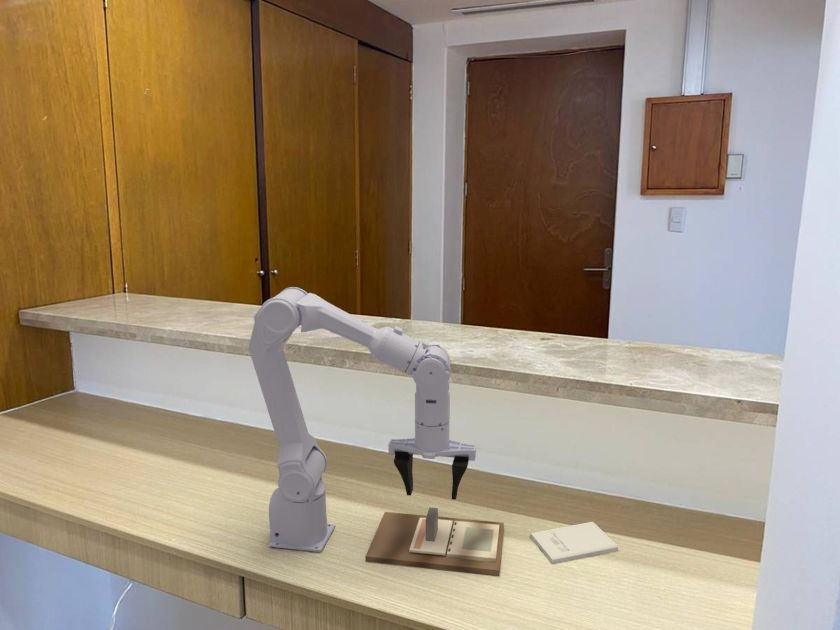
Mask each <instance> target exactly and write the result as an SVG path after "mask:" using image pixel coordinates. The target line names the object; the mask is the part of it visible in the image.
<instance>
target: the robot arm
mask: <svg viewBox="0 0 840 630" xmlns="http://www.w3.org/2000/svg"><path fill="white" fill-rule="evenodd" d="M253 321H254V323H253V328H252V331H251V336H250V339H249V343H248V351H249V355H250V357H251V360H252V364H253V367H254V370H255V374H256V376H257V380H258V383H259V386H260V389H261V392H262V396H263V400H264V402H265V406H266V409H267V413H268V415H269V419H270V422H271V425H272V427H273V431H274V435H275V437H276V440H277V443H278V454H277V455H278V456H277V464H276V465H277V468H278V474H279V475H278V476H279V477H278V479H277V488H275V489H274V490H273V492H272V494H271V495H270V496H271V497H270V498H269V499H270V500H269V505H268V521H269V522H268V523H269V534H270V535H269V536H270V537H269V538H270V541H269V543H268V547H270V548H277V549H278V548H279V549H289V550H298V551H299V550H300V551H308V552H315V553H316V552H317V553H319V552H322V551H324V550H323V549H324V547H326V545H327V542H328V541H329V539H330V537H331V535H332V533H333V531H334V529H335V528H336V525H335V524H334V523H328V518H327V517H328V516H327V496H326V495H327V494H326V484H325V483H324V481H323V478H322V477H323V475H324V473H325V472H326V469H327V467H328V458H327V456H326V454H325V452H324V450H322V449H321V448H320V446H319V445H318V443H317V440H316V437H315V436H313V435H312V434H310V433H309V430H308V427H307V422H306V420H305V417H304V414H303V411H302V407H301V403H300V401H299V397H298V393H297V390H296V387H295V384H294V381H293V377H292V374H291V371H290V367H289V364H288V360H287V357H286V354H285V350H284V347H285V346H286V344H287V343H288V341H289V340H290V338H291V336H292V335H293V333H294V332H295V331H296V330H297V328H299V327H300V326H301V328H300V332H301V333H307V332H311V331H315V330H316V331H317V330H321V329H323V330H325V331H329V333H333V334H335V335H337V336H340V337H342V338H345V339H347V340H350V341H352V342H354V343H357V344H359V345H361V346H362V347H365V348H368V350H369V353H370V356H371V358H373V359H374V360H376V361H378V362H380V363H382V364H384V365H386V366H388V367H390V368H392V369H395V370H397V371H398V372H400V373H402V374H405V375H407V376H412V379H413V381H414V383H415V393H414V438H413V437H411V438H401V439H399V438H395V439H394V438H390V440H389V442H388V455H392V456H393V455H394V459H393V464H394V466H395V468H396V470H397V471H398V473H399V474H400V476H401V479H402V481H403V482H402V483H403V485H404V489H405V492H406V496H409V497H410V496H412V494H413V491H414V479H413V478H414V476H413V475H414V474H413V462H414V461H413V460H414V458H413V457H414V455H418V456H422V459H427V460H428V459H429V460H434V459H435V458H436V457H441V458H443V457H444V458H453V461H452V464H451V471H452V472H451V474H452V487H451V488H452V489H451V500H457V497H458V490H459V486H460V483H461V480H462V478H463V476H464V474H465V472H466V471H467V468H468V467H469V466H468V465H469V462H471V461H472V462H475V461H476V458H477V445H476V444H469V443H468V444H467V443H463V442H460V441H455V440H452V439H450V397H451V393H450V392H449V391H450V383H449V381H450V377H451V373H450V370H451V363H452V362H451V358H450V354H449V353H448V351H446V350H445V349H444V348H443V347H442V346H440V344H438V343H437V344H436V343H431V344H430V343H429V341H426V340H423V341H419V340H418V339H415V338H413V337H412V336H409V335H408V334H406V333H403V328H401V327H399V326H397V325H395V326H394V328H392V327H391V326H385V327H381V328H376V327H374V326H372V325H370V324H369V323H367V322H365V321H363V320H361V319H360V318H357V317H356V316H353V315H352V314H350V313H349V312H347V311H345V310H342V309H341V308H340V307H337V306H335V305H334V304H332V303H331V302H328V301H327V300H325V299H323V298H322V297H321V296H318V295H317V294H315V293H312V292H309V293H308V292H307V291H306V290H304V289H302V288H300V287H297V286H296V287H295V286H291V287H286V288H285V289H282V290H281V291H280V292H279V293H278V294H276V295H275V296H274V297H271V298H269V299H267V300H266V301H264V302H263V304H262V305H261V306H260V308H258V310H257V311H256V313H255V314H254V315H253Z"/></svg>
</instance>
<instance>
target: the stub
mask: <svg viewBox="0 0 840 630" xmlns="http://www.w3.org/2000/svg"><path fill="white" fill-rule="evenodd" d="M426 516H427V517H426V518H420V519H419V522H418V525H417V528H416V531H415V534H414V537H413V540H412V543H411V546H410V549H409V552H415V553H425V554H435V555H444V556H445V554H446V550H447V545H448V541H449V537H450V532H451V528H452V524H453V521H452V520H441V519H438V517H439V508H438V507H431V506H430V507H429V508H428V510H427V514H426Z"/></svg>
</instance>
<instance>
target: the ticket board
mask: <svg viewBox="0 0 840 630" xmlns="http://www.w3.org/2000/svg"><path fill="white" fill-rule="evenodd" d="M426 517H427V514H426V515H423V514H414V513H402V512H392V511H383V515H382V517H381V520H380V522H379V525H378V527H377V529H376V532H375V534H374V536H373V538H372V540H371V543H370V544H369V548H368V550H367V551H366V554H365V556H364V557H365V560H364V562H366V563H375V564H383V565H393V566H401V567H411V568H412V567H413V568H419V569H420V568H422V569H430V570H439V571H440V570H441V571H449V572H460V573H467V574H468V573H469V574H480V575H487V576H488V575H489V576H496V577H499V576H500V573H501V572H500V571H501V561H502V549H503V540H504V539H503V537H504V526H505V523H504V522H500V521H491V520H490V521H488V520H479V519H467V518H456V517H446V516H438V519H441V520H452V521H453V524H452V528H451V532H450V537H449V541H448V545H447V550H446V554H445V556H444V555H435V554H425V553H415V552H409V549H410V546H411V543H412V540H413V537H414V534H415V531H416V528H417V525H418V522H419V519H420V518H426Z"/></svg>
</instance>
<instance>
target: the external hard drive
mask: <svg viewBox="0 0 840 630" xmlns="http://www.w3.org/2000/svg"><path fill="white" fill-rule="evenodd" d="M529 538H530V540H531V541H532V542H533V543H534V544H535V545H536V547H538V549H540V550H541V551H542V554H543V555H544V556H545V558H546V559H547V560H548V561H549V563H550V564H551V565H554V564H555V565H556V564H560V563H565V562H570V561H575V560H580V559H585V558H590V557H596V556H601V555H605V554H610V553H614V552H615V553H616V552H618V551H619V550H618V549H619V547H618V545H617V543H616V542H615V541H614V540H613V539H612V538H610V537H609V536H608V534H607V533H606V532H605V531H603V529H601V528H600V527H599V526H598V525H597V524H596V523H595V522H594V521H589V522H588V521H587V522H584V523H578V524H573V525H566V526H562V527H557V528H552V529H551V528H550V529H546V530H541V531H535V532H530V533H529Z"/></svg>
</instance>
